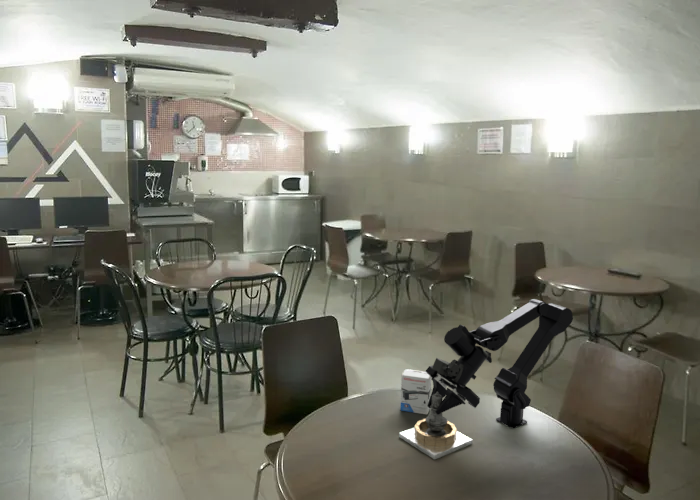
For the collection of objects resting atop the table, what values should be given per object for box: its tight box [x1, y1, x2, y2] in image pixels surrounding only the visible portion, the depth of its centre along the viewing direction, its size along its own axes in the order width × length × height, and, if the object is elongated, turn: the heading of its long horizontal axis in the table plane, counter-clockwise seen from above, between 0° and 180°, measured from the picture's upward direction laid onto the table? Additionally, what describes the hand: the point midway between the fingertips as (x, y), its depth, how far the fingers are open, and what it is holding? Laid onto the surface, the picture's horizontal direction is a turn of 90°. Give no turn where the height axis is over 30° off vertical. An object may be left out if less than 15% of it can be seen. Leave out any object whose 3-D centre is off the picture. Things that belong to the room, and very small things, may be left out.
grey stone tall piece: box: [424, 391, 448, 436], centre depth 149 cm, size 6×6×12 cm
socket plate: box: [398, 418, 473, 460], centre depth 150 cm, size 14×14×4 cm
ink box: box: [399, 368, 432, 415], centre depth 168 cm, size 8×5×12 cm, turn 72°
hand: (432, 410), depth 149 cm, fingers closed on grey stone tall piece, 4 cm apart
